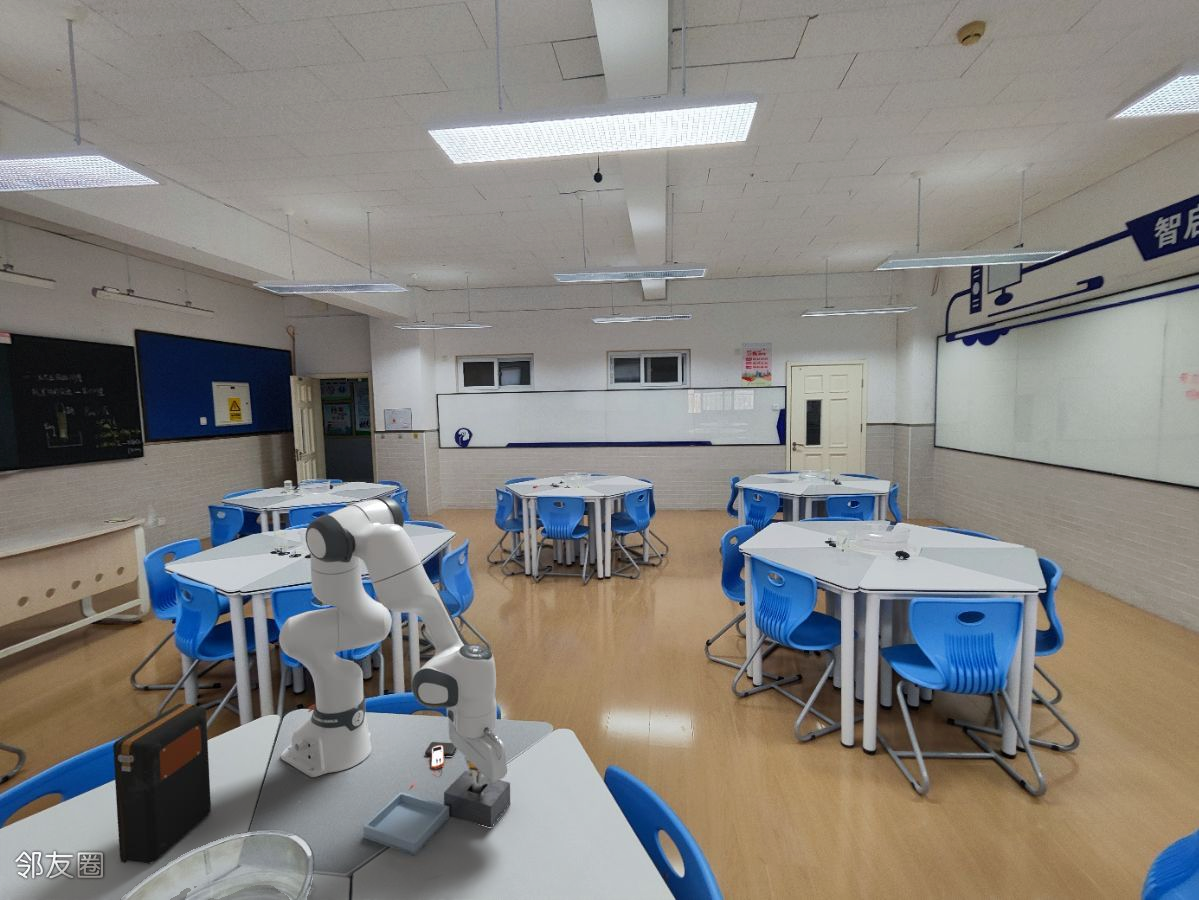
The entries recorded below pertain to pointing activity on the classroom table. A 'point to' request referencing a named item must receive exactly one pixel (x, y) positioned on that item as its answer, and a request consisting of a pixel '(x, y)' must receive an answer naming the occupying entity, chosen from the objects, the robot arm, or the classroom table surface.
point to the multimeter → (439, 753)
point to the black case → (161, 782)
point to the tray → (406, 823)
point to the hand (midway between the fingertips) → (477, 779)
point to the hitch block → (477, 800)
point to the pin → (475, 785)
